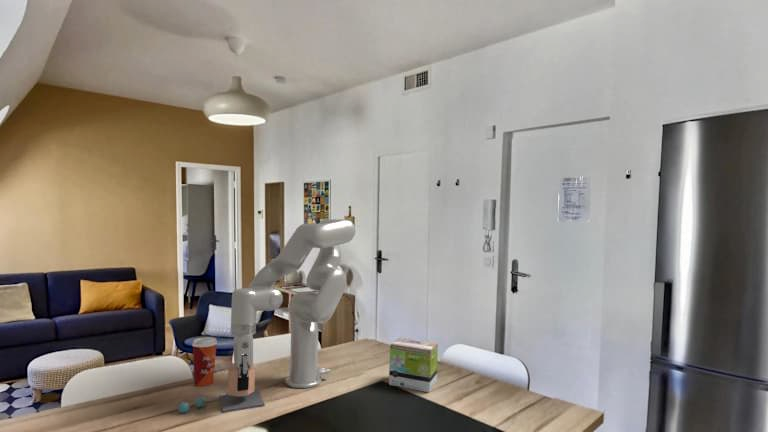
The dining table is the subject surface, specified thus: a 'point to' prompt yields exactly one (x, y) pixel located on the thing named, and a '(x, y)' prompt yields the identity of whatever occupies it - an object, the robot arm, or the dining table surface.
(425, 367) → the tea box
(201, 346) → the coffee cup
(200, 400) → the marble
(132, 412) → the dining table surface
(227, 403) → the charcoal mat
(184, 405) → the marble
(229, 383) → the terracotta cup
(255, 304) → the robot arm
